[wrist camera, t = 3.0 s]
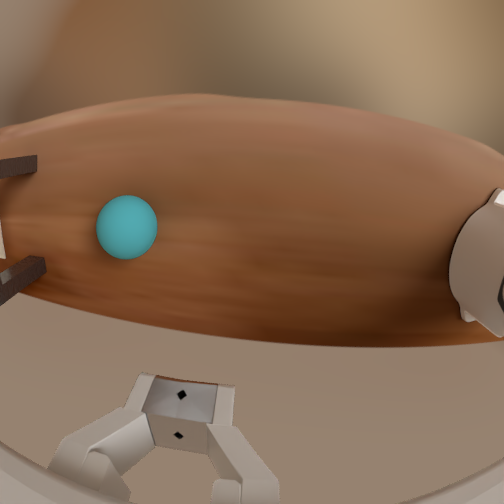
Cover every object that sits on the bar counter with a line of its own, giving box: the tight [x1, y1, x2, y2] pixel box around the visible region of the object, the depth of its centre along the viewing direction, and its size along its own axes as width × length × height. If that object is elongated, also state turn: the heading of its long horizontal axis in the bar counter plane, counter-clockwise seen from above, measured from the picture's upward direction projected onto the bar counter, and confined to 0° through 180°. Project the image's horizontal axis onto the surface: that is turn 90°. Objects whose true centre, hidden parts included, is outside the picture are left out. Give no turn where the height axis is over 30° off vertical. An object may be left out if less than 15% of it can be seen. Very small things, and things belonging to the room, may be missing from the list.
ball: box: [96, 195, 157, 259], centre depth 25 cm, size 6×6×6 cm
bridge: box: [0, 155, 46, 306], centre depth 23 cm, size 3×15×10 cm, turn 175°
